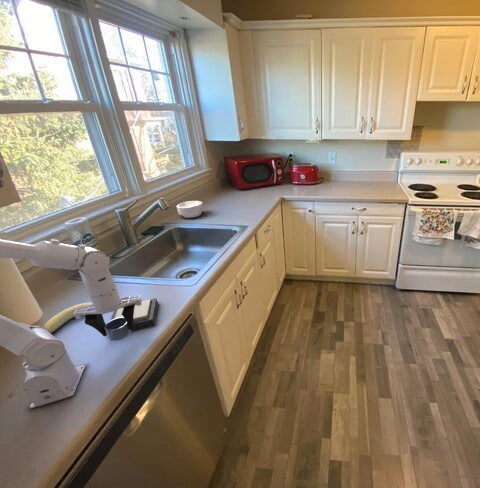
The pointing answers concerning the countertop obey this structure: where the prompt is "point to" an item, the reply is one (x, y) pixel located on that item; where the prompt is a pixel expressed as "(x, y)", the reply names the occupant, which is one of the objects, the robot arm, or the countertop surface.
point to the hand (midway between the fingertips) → (119, 330)
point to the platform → (138, 311)
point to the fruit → (63, 317)
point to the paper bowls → (190, 209)
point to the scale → (145, 322)
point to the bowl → (117, 329)
